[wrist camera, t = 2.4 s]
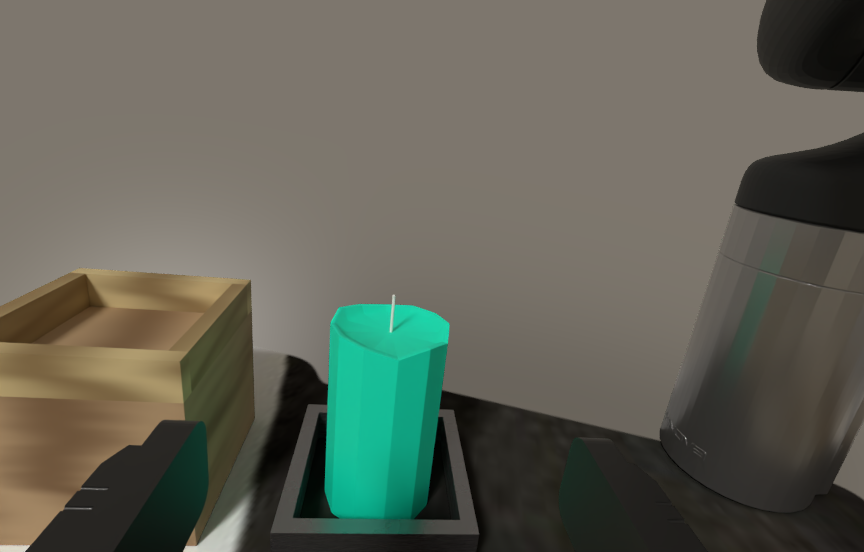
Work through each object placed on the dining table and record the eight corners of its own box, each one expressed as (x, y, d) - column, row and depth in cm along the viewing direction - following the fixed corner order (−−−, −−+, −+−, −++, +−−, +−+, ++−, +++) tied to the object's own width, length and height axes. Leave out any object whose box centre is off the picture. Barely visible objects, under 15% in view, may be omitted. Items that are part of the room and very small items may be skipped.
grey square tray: (449, 434, 31) (453, 409, 30) (473, 565, 22) (479, 534, 21) (307, 429, 30) (308, 404, 29) (270, 565, 21) (270, 532, 20)
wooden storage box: (254, 418, 30) (250, 279, 27) (196, 545, 21) (179, 361, 18) (102, 412, 29) (79, 268, 26) (-27, 544, 20) (-87, 348, 17)
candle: (302, 508, 24) (305, 302, 20) (355, 440, 29) (366, 267, 25) (406, 549, 22) (432, 333, 18) (442, 469, 28) (468, 289, 24)
